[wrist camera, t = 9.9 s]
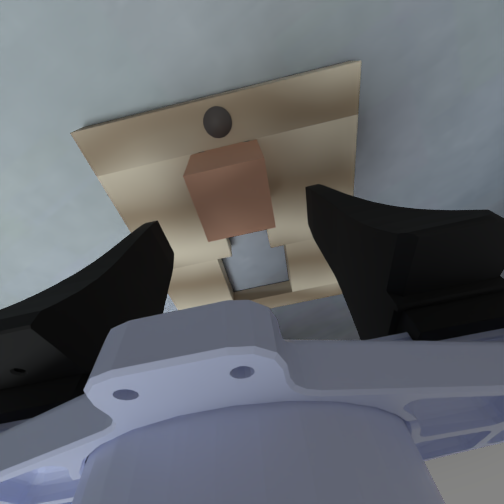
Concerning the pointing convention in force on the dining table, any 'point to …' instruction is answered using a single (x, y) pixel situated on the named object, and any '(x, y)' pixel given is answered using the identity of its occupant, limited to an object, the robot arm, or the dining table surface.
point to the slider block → (230, 190)
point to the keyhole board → (227, 133)
